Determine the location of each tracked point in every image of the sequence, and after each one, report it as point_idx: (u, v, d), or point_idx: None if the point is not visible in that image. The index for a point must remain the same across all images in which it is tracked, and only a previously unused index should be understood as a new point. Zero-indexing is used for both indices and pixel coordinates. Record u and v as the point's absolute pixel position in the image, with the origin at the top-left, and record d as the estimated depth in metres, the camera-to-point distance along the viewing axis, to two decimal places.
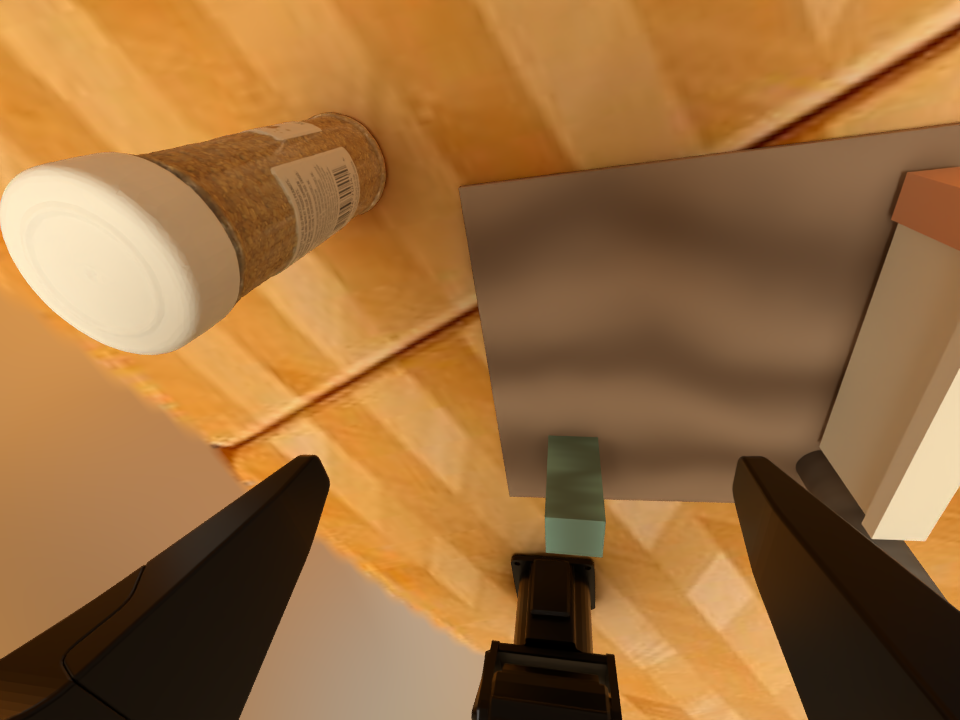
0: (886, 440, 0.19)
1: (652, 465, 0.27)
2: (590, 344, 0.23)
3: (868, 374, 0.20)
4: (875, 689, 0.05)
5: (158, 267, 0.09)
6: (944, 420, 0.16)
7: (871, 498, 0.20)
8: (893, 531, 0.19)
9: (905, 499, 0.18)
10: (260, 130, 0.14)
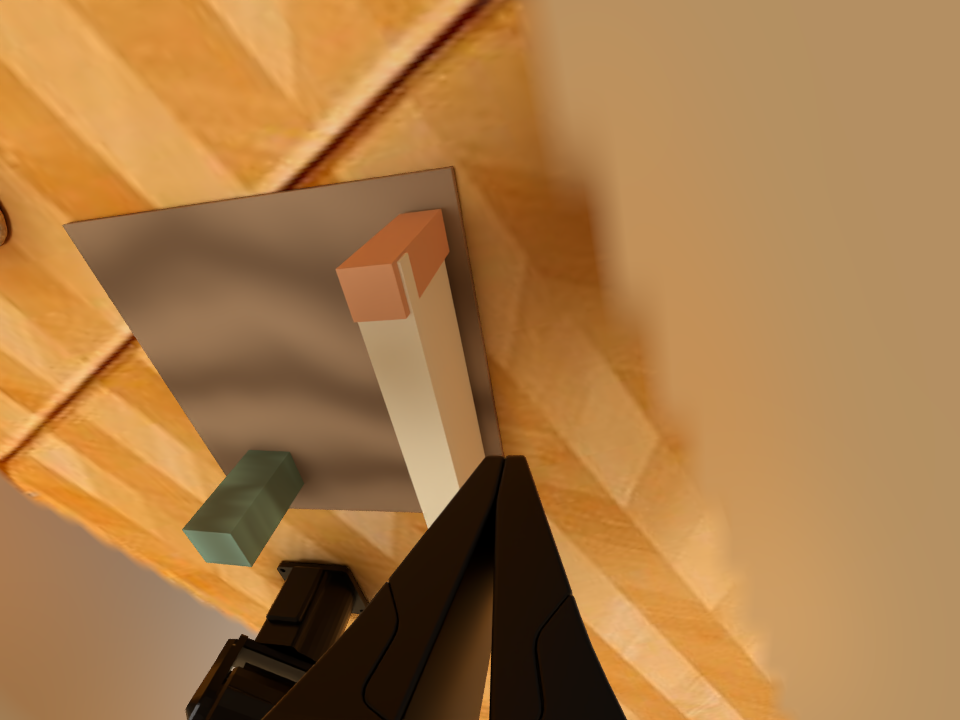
0: None
1: (347, 477, 0.29)
2: (239, 366, 0.25)
3: None
4: None
5: None
6: (407, 443, 0.17)
7: None
8: None
9: (433, 514, 0.19)
10: None
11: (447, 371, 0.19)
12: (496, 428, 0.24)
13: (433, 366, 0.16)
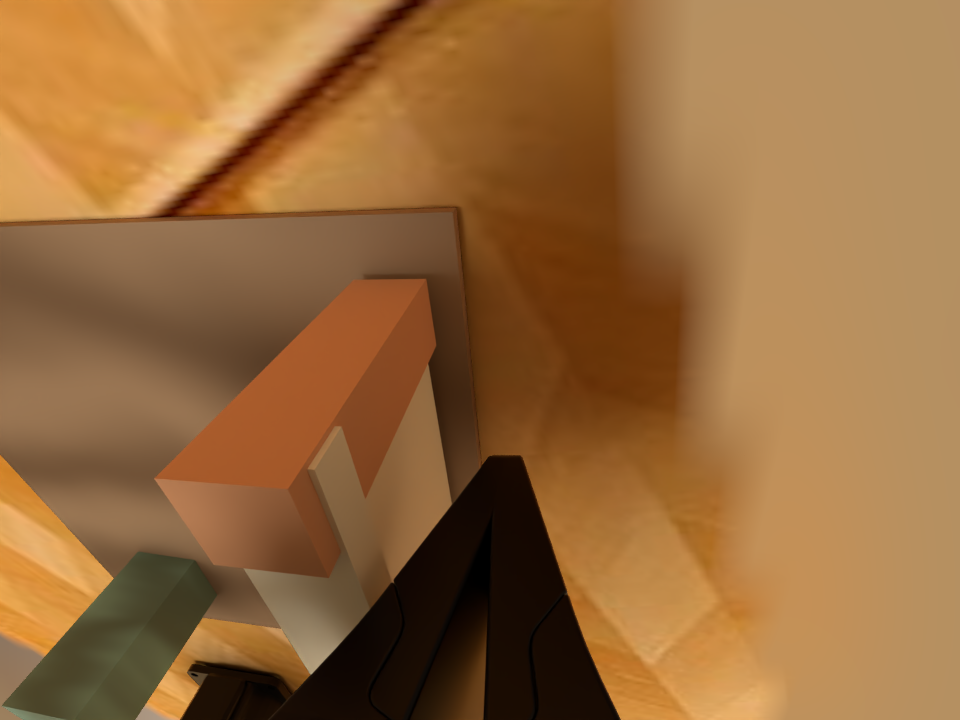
0: None
1: None
2: (113, 455, 0.17)
3: None
4: None
5: None
6: None
7: None
8: None
9: None
10: None
11: None
12: None
13: None
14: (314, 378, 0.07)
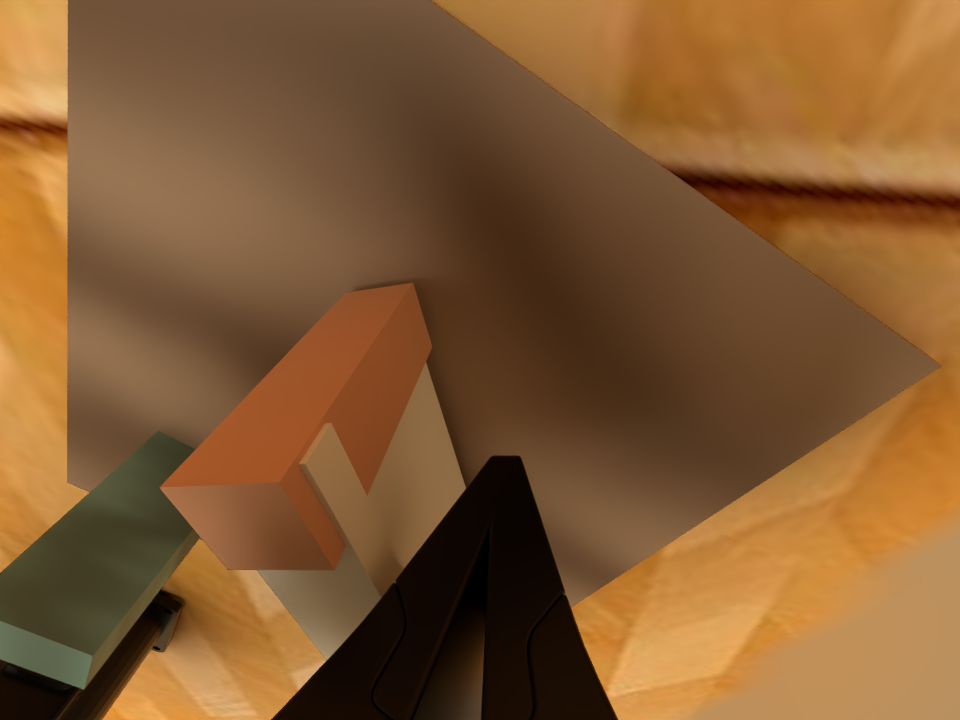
0: None
1: None
2: (276, 333, 0.12)
3: None
4: None
5: None
6: None
7: None
8: None
9: None
10: None
11: None
12: (581, 599, 0.17)
13: None
14: (306, 383, 0.07)
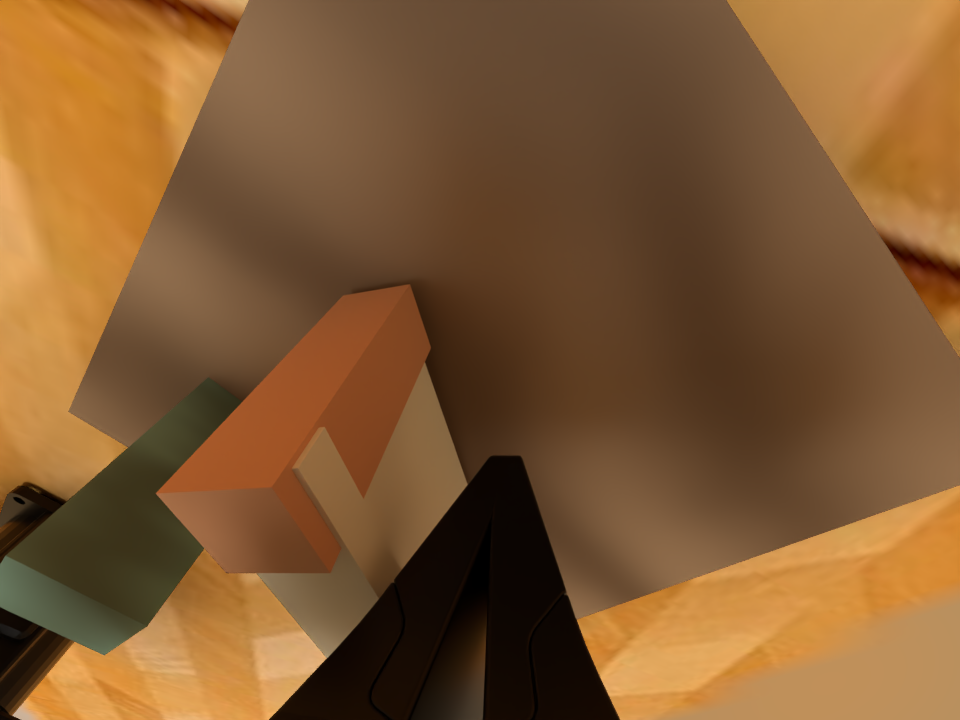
0: None
1: None
2: None
3: None
4: None
5: None
6: None
7: None
8: None
9: None
10: None
11: None
12: (598, 610, 0.18)
13: None
14: (301, 387, 0.07)
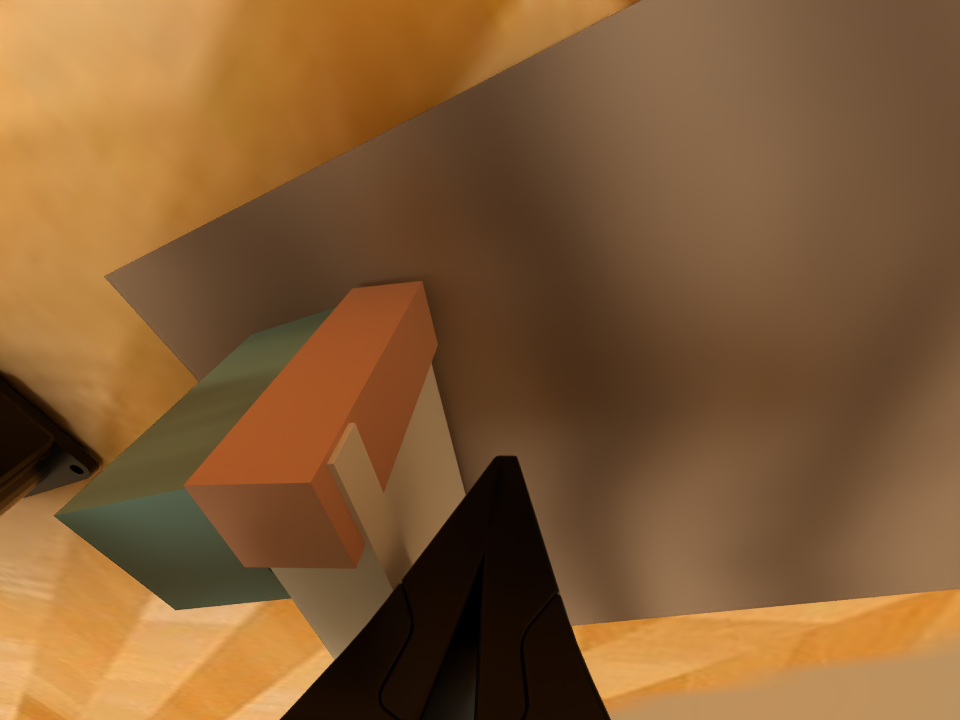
0: None
1: None
2: (612, 314, 0.11)
3: None
4: None
5: None
6: None
7: None
8: None
9: None
10: None
11: None
12: (582, 623, 0.19)
13: None
14: (324, 381, 0.07)
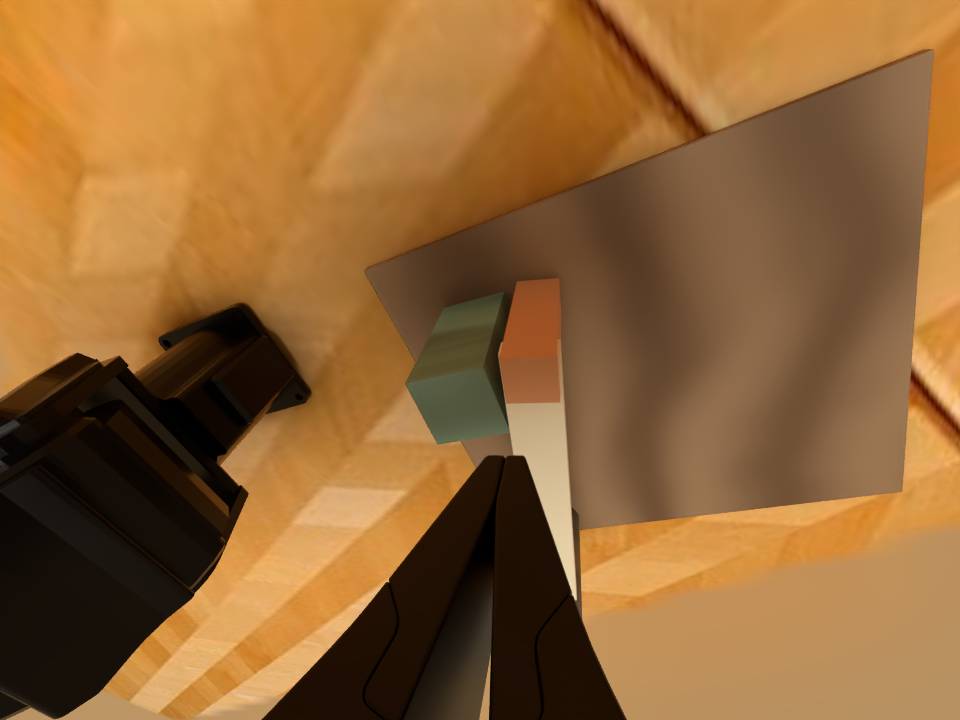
0: None
1: None
2: (667, 299, 0.19)
3: None
4: None
5: None
6: None
7: None
8: None
9: None
10: None
11: None
12: (628, 523, 0.27)
13: (566, 437, 0.16)
14: (535, 324, 0.15)
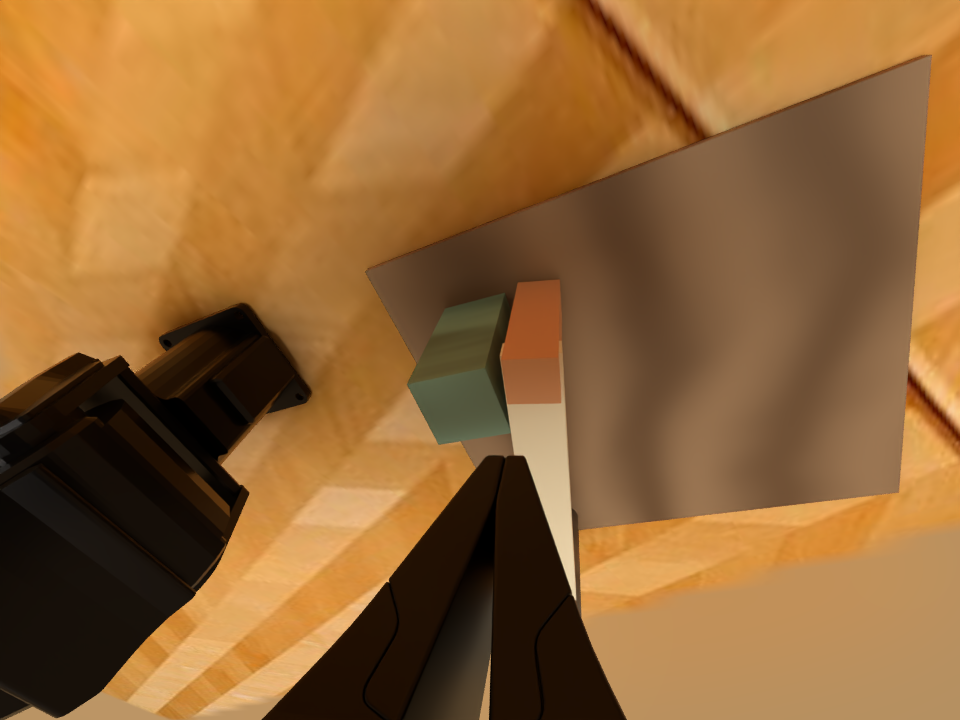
0: None
1: None
2: (666, 301, 0.19)
3: None
4: None
5: None
6: None
7: None
8: None
9: None
10: None
11: None
12: (627, 523, 0.27)
13: (567, 438, 0.17)
14: (536, 325, 0.15)
